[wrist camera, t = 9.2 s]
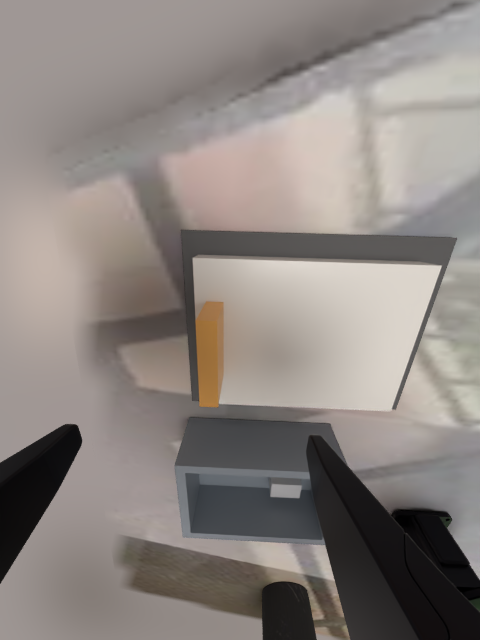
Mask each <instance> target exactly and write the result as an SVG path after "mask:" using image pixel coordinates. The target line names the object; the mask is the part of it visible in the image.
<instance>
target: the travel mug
mask: <svg viewBox="0 0 480 640" xmlns="http://www.w3.org/2000/svg"><path fill="white" fill-rule="evenodd" d="M262 624H263V640H317V639H316V634H315V628H314V623H313V618H312V612H311V607H310V602H309V597H308V593H307V590H306V589H305V588H304V587H303V586H301V585H299V584H295V583H291V582H278V583H273V584H270V585H268V586H266V587H265V588H264V589H263V592H262Z"/></svg>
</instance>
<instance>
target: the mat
mask: <svg viewBox="0 0 480 640" xmlns="http://www.w3.org/2000/svg"><path fill="white" fill-rule="evenodd" d="M181 238H182V253H183V268H184V284H185V299H186V314H187V330H188V345H189V360H190V376H191V391H192V401H199V383H198V363H197V343H196V323H195V320H196V318H195V298H194V277H193V257H195V256H197V255H227V256H259V257H291V258H323V259H355V260H387V261H419V262H425V263H430V264H435V265H441V266H442V267H441V270H440V273H439V276H438V278H437V281H436V284H435V287H434V290H433V293H432V295H431V298H430V301H429V304H428V307H427V310H426V313H425V315H424V318H423V321H422V324H421V327H420V330H419V332H418V335H417V338H416V341H415V344H414V347H413V350H412V352H411V355H410V358H409V361H408V364H407V367H406V369H405V372H404V375H403V378H402V381H401V384H400V387H399V389H398V392H397V395H396V398H395V401H394V404H393V406H392V409H396V407H397V404H398V402H399V399H400V396H401V393H402V391H403V388H404V385H405V382H406V379H407V377H408V374H409V371H410V368H411V365H412V363H413V360H414V357H415V354H416V352H417V349H418V346H419V343H420V340H421V338H422V335H423V332H424V329H425V327H426V324H427V321H428V318H429V315H430V313H431V310H432V307H433V304H434V301H435V299H436V296H437V293H438V290H439V288H440V285H441V282H442V279H443V276H444V274H445V271H446V268H447V265H448V263H449V260H450V257H451V254H452V251H453V249H454V246H455V243H456V240H457V238H443V237H408V236H373V235H338V234H302V233H267V232H232V231H197V230H181Z"/></svg>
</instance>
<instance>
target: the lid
mask: <svg viewBox="0 0 480 640" xmlns="http://www.w3.org/2000/svg"><path fill="white" fill-rule="evenodd" d="M441 267H442V266H441V265H435V264H430V263H425V262H419V261H387V260H355V259H323V258H291V257H259V256H227V255H197V256H195V257H193V277H194V298H195V318H196V320H195V323H196V343H197V363H198V383H199V403H200V407H218V405H219V404H233V405H256V406H279V407H301V408H324V409H347V410H370V411H391V409H392V406H393V404H394V401H395V398H396V395H397V392H398V389H399V387H400V384H401V381H402V378H403V375H404V372H405V369H406V367H407V364H408V361H409V358H410V355H411V352H412V350H413V347H414V344H415V341H416V338H417V335H418V332H419V330H420V327H421V324H422V321H423V318H424V315H425V313H426V310H427V307H428V304H429V301H430V298H431V295H432V293H433V290H434V287H435V284H436V281H437V278H438V276H439V273H440V270H441Z"/></svg>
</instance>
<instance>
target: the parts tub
mask: <svg viewBox="0 0 480 640" xmlns="http://www.w3.org/2000/svg"><path fill="white" fill-rule="evenodd" d="M310 434H316V435H321V436H322V437H323V438H324V439H325V441H326V442H327V443H328V444H329V445H330V446H331V447H332V449H333V450H334V451H335V452H336V453H337V454H338V455H339V457H340V458H341V459H342V460H343V461H344V462H345V463H346V461H345V458H344V456H343V453H342V451H341V449H340V446H339V444H338V442H337V439H336V437H335V435H334V432H333V430H332V427H331V425H330V424H323V423H301V422H278V421H256V420H233V419H211V418H189V420H188V424H187V427H186V430H185V433H184V437H183V440H182V443H181V446H180V449H179V453H178V456H177V459H176V462H175V474H176V483H177V491H178V500H179V508H180V517H181V525H182V534H183V537H186V538H204V539H222V540H240V541H259V542H277V543H295V544H313V545H325V541H324V538H323V534H322V530H321V526H320V523H319V519H318V515H317V511H316V507H315V503H314V498H313V493H312V487H311V481H310V474H309V468H308V462H307V456H306V448H307V443H308V437H309V435H310ZM346 465H347V463H346ZM347 466H348V465H347Z"/></svg>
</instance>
